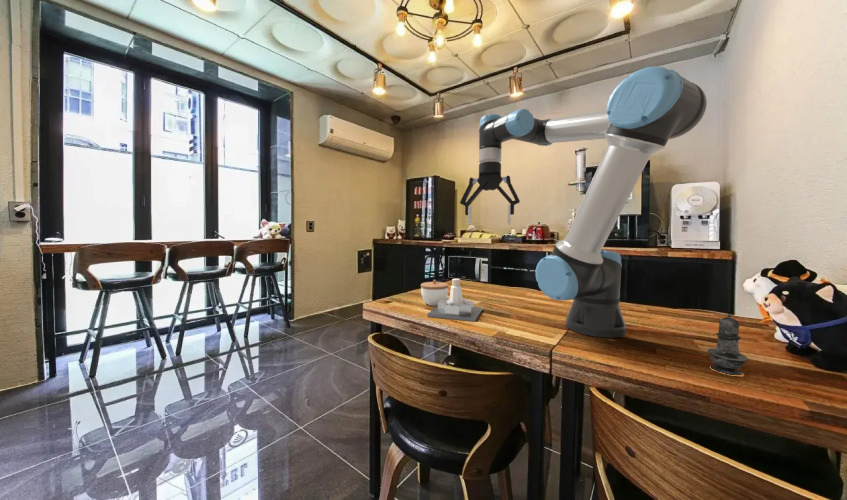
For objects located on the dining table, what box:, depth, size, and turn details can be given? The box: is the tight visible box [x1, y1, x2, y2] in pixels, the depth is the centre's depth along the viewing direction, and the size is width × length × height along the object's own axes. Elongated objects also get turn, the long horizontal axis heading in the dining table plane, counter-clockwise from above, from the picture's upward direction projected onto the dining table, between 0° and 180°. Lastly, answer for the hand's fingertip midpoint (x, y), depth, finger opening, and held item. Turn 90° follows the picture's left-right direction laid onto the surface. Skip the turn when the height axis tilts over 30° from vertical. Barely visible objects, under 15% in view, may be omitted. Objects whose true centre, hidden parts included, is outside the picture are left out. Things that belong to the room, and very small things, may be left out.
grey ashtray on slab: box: [427, 297, 483, 322], centre depth 105 cm, size 16×14×5 cm
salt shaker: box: [448, 278, 463, 305], centre depth 104 cm, size 5×5×11 cm
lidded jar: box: [420, 279, 449, 307], centre depth 119 cm, size 11×11×9 cm
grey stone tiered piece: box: [706, 313, 749, 376], centre depth 62 cm, size 6×6×12 cm
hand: (488, 224), depth 106 cm, fingers open, 13 cm apart
